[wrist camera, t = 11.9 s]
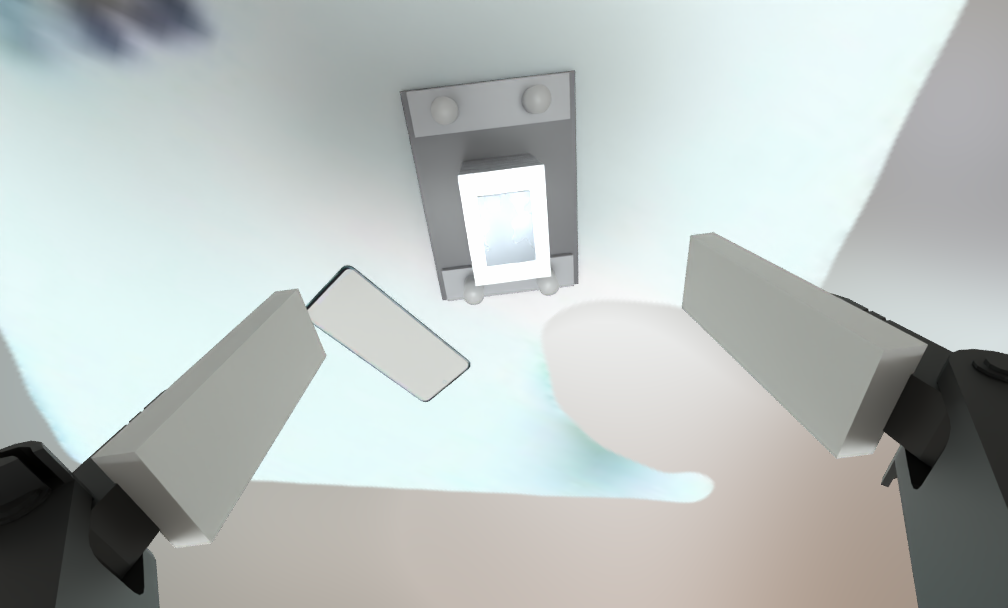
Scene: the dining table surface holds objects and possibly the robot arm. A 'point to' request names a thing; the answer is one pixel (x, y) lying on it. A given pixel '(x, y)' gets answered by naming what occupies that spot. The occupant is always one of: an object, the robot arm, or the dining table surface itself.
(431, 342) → the smartphone
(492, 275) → the block
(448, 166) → the grey knobbed plate
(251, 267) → the dining table surface
